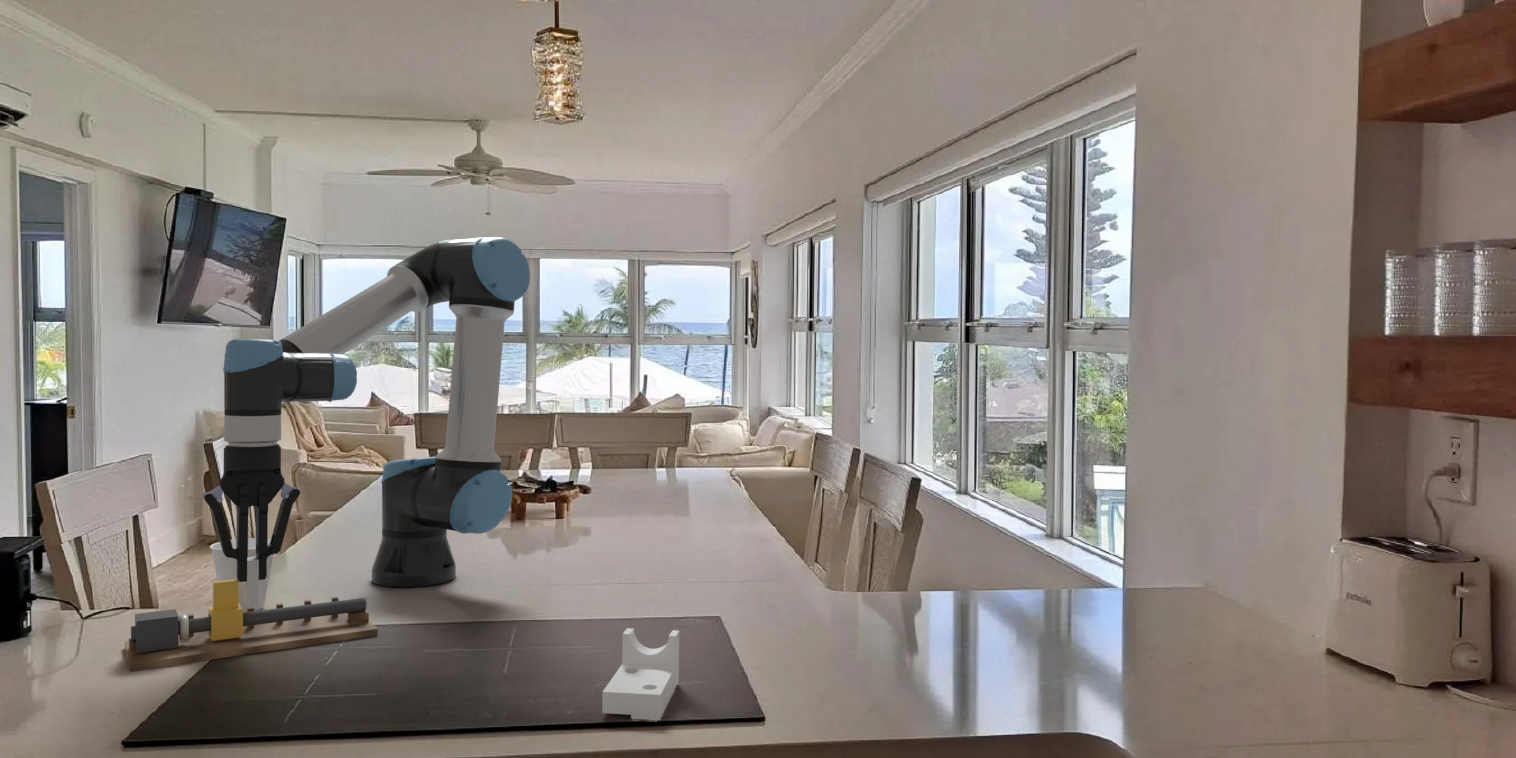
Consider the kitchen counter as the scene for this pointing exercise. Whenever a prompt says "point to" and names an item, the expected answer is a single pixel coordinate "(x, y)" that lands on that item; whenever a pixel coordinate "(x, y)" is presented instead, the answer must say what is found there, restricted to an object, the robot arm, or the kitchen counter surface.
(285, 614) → the cord
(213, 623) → the sleeve
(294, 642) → the comb board
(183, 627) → the connector
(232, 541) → the cup
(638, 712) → the bracket
